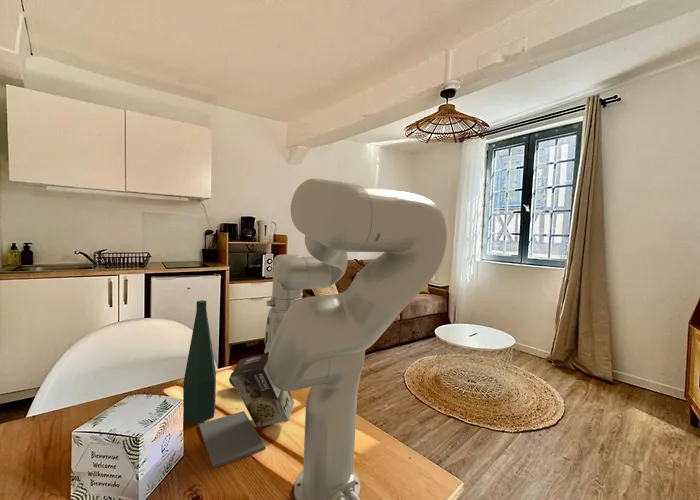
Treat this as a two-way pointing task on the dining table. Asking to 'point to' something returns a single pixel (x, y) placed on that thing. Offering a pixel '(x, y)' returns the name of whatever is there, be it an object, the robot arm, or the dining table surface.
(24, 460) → the dining table surface
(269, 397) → the coffee box
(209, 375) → the bottle
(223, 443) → the mat
